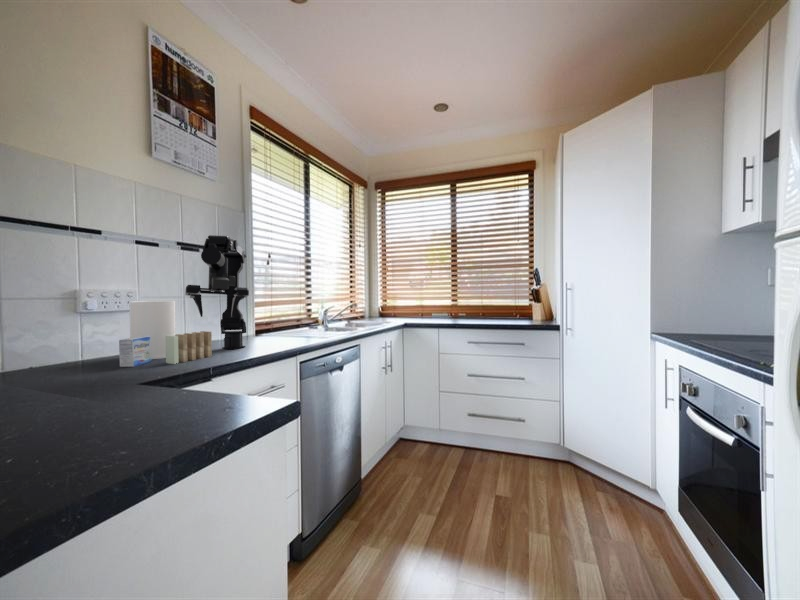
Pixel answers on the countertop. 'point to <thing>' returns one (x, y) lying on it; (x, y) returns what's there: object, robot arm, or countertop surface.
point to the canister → (153, 323)
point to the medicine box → (134, 351)
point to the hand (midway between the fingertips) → (217, 317)
